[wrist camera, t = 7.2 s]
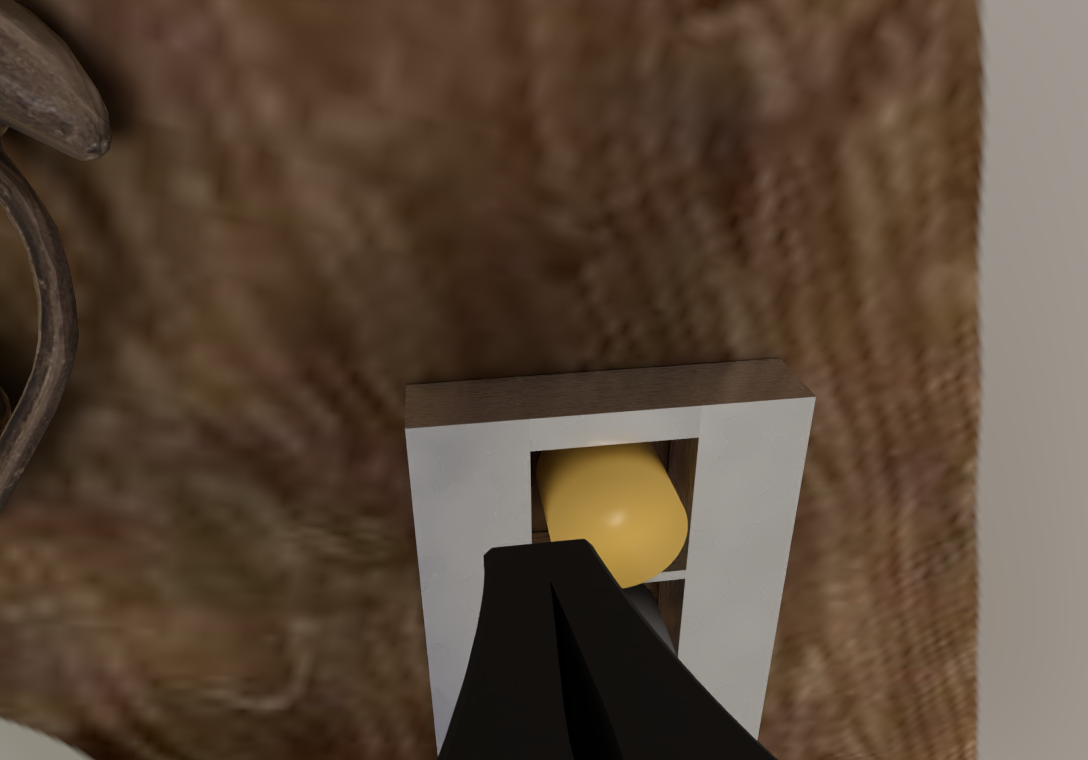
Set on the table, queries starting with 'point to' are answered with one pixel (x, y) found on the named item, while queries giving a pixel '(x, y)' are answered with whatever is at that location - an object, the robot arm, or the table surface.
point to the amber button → (614, 506)
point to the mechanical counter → (42, 212)
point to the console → (694, 469)
